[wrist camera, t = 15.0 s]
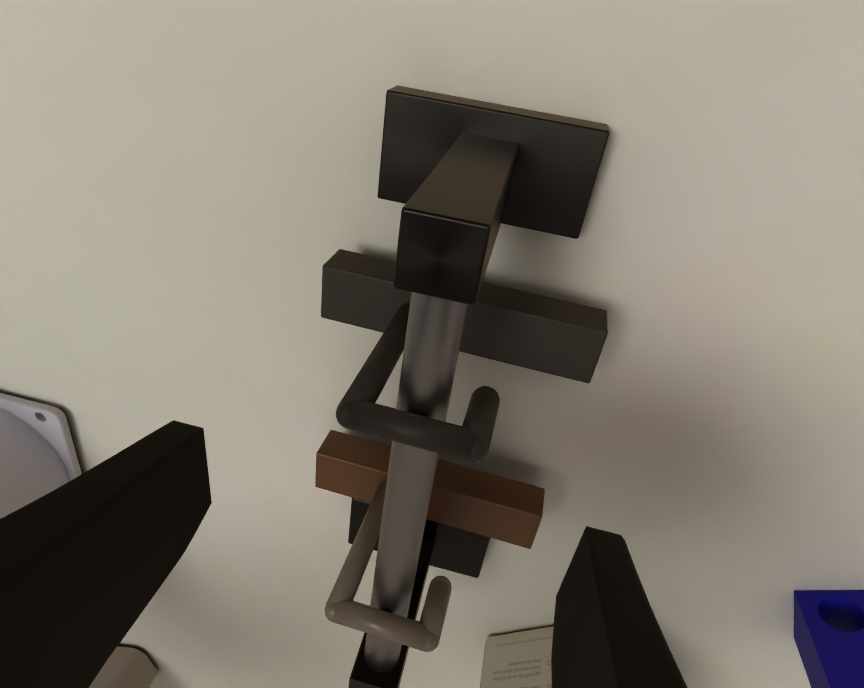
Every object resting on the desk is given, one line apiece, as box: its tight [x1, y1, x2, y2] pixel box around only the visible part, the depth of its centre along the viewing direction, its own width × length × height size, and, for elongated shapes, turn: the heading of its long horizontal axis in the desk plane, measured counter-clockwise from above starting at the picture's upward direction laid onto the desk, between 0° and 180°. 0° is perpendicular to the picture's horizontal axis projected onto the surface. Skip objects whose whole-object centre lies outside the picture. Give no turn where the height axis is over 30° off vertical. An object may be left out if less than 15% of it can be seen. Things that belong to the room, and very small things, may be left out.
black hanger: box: [321, 249, 608, 462], centre depth 15 cm, size 8×2×7 cm, turn 82°
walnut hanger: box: [315, 430, 545, 652], centre depth 19 cm, size 8×2×7 cm, turn 82°
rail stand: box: [348, 86, 609, 688], centre depth 18 cm, size 6×19×8 cm, turn 172°
